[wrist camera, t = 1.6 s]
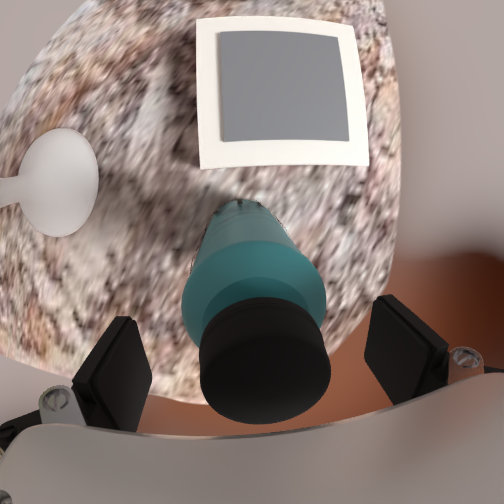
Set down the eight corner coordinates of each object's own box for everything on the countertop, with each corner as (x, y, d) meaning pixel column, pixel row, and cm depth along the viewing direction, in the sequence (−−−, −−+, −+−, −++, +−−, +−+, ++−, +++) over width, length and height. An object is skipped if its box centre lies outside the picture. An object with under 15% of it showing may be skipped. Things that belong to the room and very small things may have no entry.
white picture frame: (200, 38, 20) (195, 17, 16) (338, 41, 20) (354, 24, 16) (205, 169, 24) (199, 169, 20) (350, 165, 25) (371, 166, 20)
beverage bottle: (265, 187, 25) (371, 247, 6) (283, 253, 27) (375, 416, 8) (198, 207, 25) (106, 321, 6) (219, 271, 27) (204, 459, 8)
